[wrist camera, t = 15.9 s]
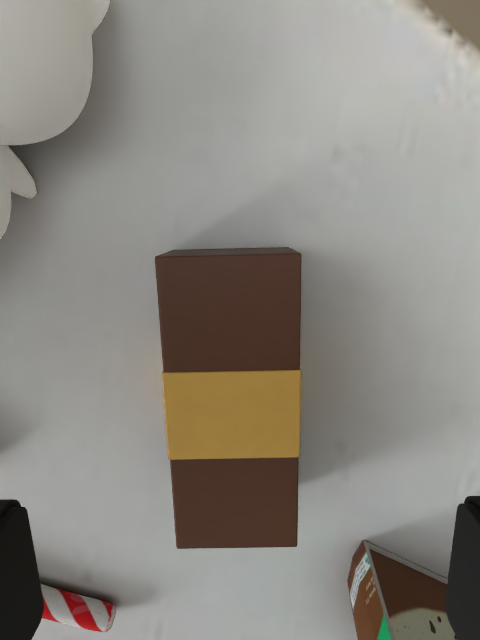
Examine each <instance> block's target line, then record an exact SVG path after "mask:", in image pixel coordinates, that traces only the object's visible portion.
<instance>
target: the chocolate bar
mask: <svg viewBox="0 0 480 640" xmlns="http://www.w3.org/2000/svg"><path fill="white" fill-rule="evenodd" d="M155 265H156V279H157V292H158V305H159V319H160V332H161V345H162V359H163V373H162V381H163V394H164V407H165V420H166V433H167V447H168V458H169V459H170V465H171V479H172V492H173V505H174V519H175V532H176V545H177V548H178V549H187V548H251V547H297V528H298V458H299V457H300V425H301V369H300V319H301V253H299V252H297V251H295V250H293V249H291V248H289V247H278V248H235V249H193V250H172V251H169V252H167V253H164V254H162V255H159V256H156V257H155Z"/></svg>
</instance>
